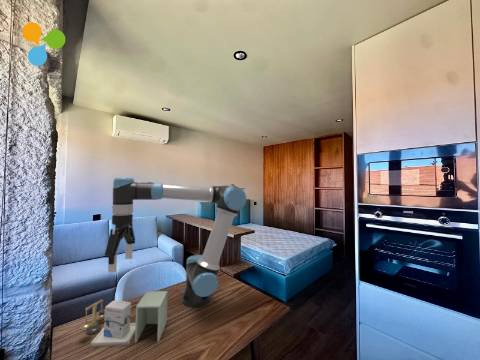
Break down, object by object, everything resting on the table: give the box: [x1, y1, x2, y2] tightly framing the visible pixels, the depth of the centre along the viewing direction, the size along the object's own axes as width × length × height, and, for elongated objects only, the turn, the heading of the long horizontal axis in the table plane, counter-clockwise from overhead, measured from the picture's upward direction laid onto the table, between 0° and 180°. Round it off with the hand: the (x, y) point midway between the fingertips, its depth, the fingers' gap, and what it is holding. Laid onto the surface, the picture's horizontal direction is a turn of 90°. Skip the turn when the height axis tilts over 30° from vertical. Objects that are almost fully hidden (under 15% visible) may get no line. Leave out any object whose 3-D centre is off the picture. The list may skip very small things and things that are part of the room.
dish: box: [90, 322, 135, 348], centre depth 83 cm, size 14×10×1 cm
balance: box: [79, 299, 105, 336], centre depth 86 cm, size 14×5×12 cm, turn 5°
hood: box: [134, 290, 169, 344], centre depth 86 cm, size 9×11×14 cm
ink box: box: [103, 299, 132, 339], centre depth 84 cm, size 9×5×12 cm, turn 82°
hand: (121, 264), depth 85 cm, fingers open, 13 cm apart
